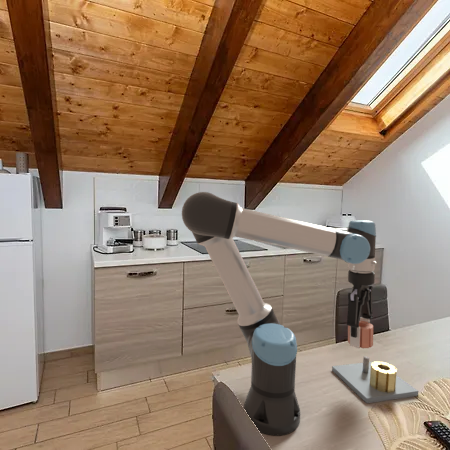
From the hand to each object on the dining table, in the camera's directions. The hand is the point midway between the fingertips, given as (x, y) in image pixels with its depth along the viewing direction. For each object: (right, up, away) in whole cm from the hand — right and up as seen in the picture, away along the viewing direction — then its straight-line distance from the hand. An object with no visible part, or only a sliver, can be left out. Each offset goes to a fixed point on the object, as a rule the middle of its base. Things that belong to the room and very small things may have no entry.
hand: (359, 341), depth 101 cm
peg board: (+5, -14, +3) cm, 15 cm away
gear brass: (+6, -13, -2) cm, 15 cm away
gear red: (0, 0, 0) cm, 0 cm away
